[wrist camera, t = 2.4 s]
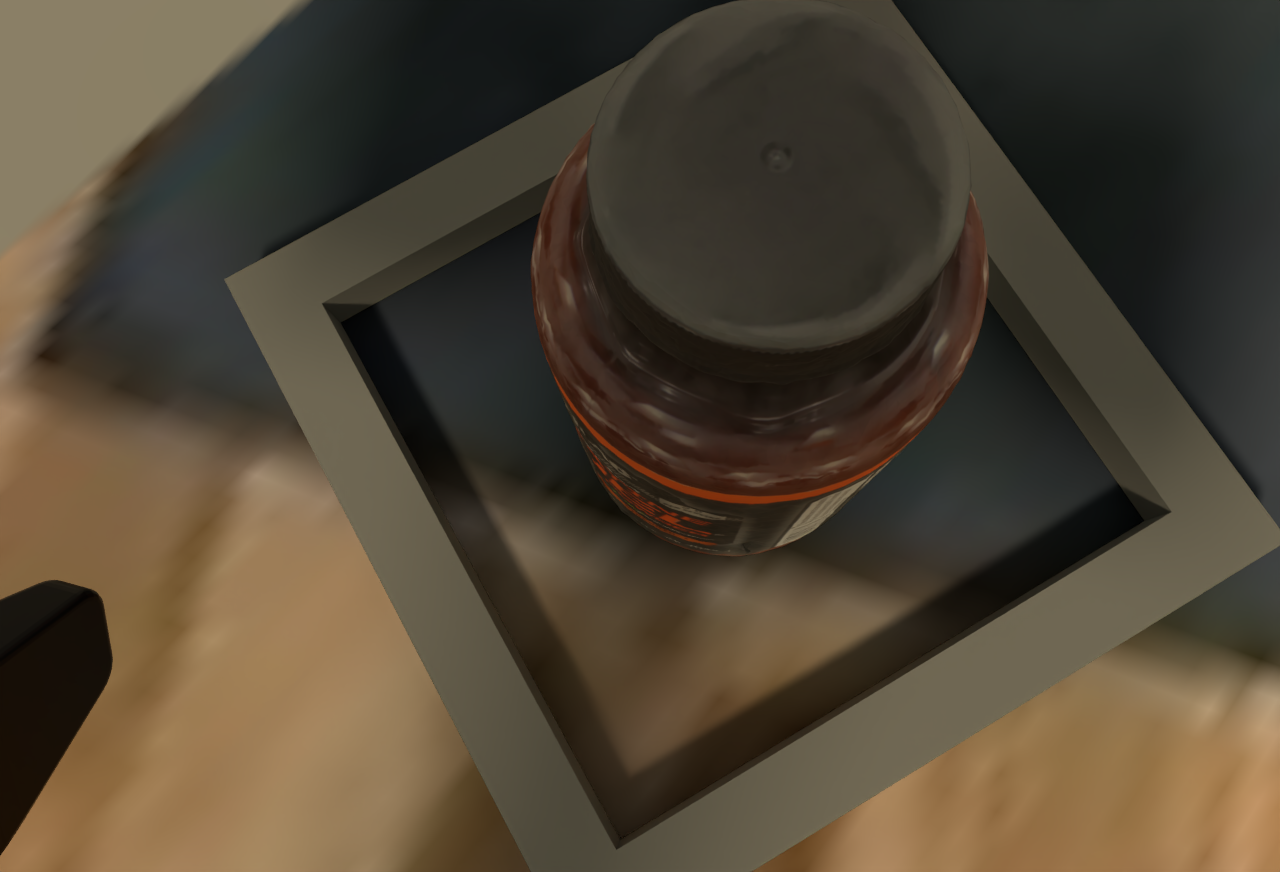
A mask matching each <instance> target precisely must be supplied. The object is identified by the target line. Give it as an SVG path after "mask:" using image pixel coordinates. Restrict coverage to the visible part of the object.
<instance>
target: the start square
mask: <svg viewBox="0 0 1280 872" xmlns="http://www.w3.org/2000/svg"><path fill="white" fill-rule="evenodd" d="M823 1H827V2H831V3H835V4H838V5H840V6H843V7H846V8H849V9H851V10H854V11H857V12H859V13H861V14H863V15H865V16H867V17H869V18H871V19H872V20H873V21H875V22H876V23H879V24H881V25H883V26H886V27H888V28H890V29H893V30H894V31H895V32H896V33H898V34H899V35H900V36H902V37H903V38H904V39H905V40H906V41H907V42H908V43H909V44H910V45H911V46H912V47H913V48H914V49H915V50H916V51H918V52H919V53H920V54H921V55H922V56H923V57H925V58H926V60H927V61H928V62H929V64H930V65H931V66H932V68H933V69H934V70H935V71H936V72H937V73H938V75H939V76H940V77H941V79H942V80H943V82H944V84H945V86H946V87H947V89H948V91H949V93H950V96H951V97H952V99H953V100H954V102H955V104H956V106H957V109H958V112H959V116H960V119H961V122H962V125H963V128H964V131H965V134H966V137H967V140H968V143H969V150H970V167H971V184H972V187H971V192H972V194H973V196H974V198H975V200H976V204H977V207H978V209H979V211H980V216H981V219H982V222H983V228H984V237H985V241H986V246H987V256H988V265H989V269H988V271H989V280H988V290H987V298H988V299H989V301H990V302H991V304H992V305H993V306H994V308H995V309H996V311H997V312H998V314H999V315H1000V316H1001V318H1002V319H1003V321H1004V322H1005V324H1006V325H1007V326H1008V328H1009V329H1010V331H1011V332H1012V333H1013V335H1014V336H1015V338H1016V339H1017V341H1018V342H1019V343H1020V345H1021V346H1022V348H1023V349H1024V351H1025V352H1026V353H1027V355H1028V356H1029V358H1030V359H1031V360H1032V362H1033V363H1034V365H1035V366H1036V368H1037V369H1038V370H1039V372H1040V373H1041V375H1042V376H1043V378H1044V379H1045V380H1046V382H1047V383H1048V385H1049V386H1050V387H1051V389H1052V390H1053V392H1054V393H1055V395H1056V396H1057V397H1058V399H1059V400H1060V402H1061V403H1062V405H1063V406H1064V407H1065V409H1066V410H1067V412H1068V413H1069V414H1070V416H1071V417H1072V419H1073V420H1074V422H1075V423H1076V424H1077V426H1078V427H1079V429H1080V430H1081V432H1082V433H1083V434H1084V436H1085V437H1086V439H1087V440H1088V441H1089V443H1090V444H1091V446H1092V447H1093V449H1094V450H1095V451H1096V453H1097V454H1098V456H1099V457H1100V458H1101V460H1102V461H1103V463H1104V464H1105V466H1106V467H1107V468H1108V470H1109V471H1110V473H1111V474H1112V476H1113V477H1114V478H1115V480H1116V481H1117V483H1118V484H1119V485H1120V487H1121V488H1122V490H1123V491H1124V493H1125V494H1126V495H1127V497H1128V498H1129V500H1130V501H1131V503H1132V504H1133V505H1134V507H1135V508H1136V510H1137V511H1138V512H1139V514H1140V515H1141V517H1142V518H1143V520H1144V522H1142V523H1140V524H1139V525H1137V526H1135V527H1134V528H1132V529H1131V530H1129V531H1127V532H1126V533H1124V534H1122V535H1121V536H1119V537H1117V538H1116V539H1114V540H1112V541H1111V542H1109V543H1107V544H1106V545H1104V546H1103V547H1101V548H1099V549H1098V550H1096V551H1094V552H1093V553H1091V554H1089V555H1088V556H1086V557H1084V558H1083V559H1081V560H1080V561H1078V562H1076V563H1075V564H1073V565H1071V566H1070V567H1068V568H1066V569H1065V570H1063V571H1061V572H1060V573H1058V574H1057V575H1055V576H1053V577H1052V578H1050V579H1048V580H1047V581H1045V582H1043V583H1042V584H1040V585H1038V586H1037V587H1035V588H1034V589H1032V590H1030V591H1029V592H1027V593H1025V594H1024V595H1022V596H1020V597H1019V598H1017V599H1015V600H1014V601H1012V602H1010V603H1009V604H1007V605H1006V606H1004V607H1002V608H1001V609H999V610H997V611H996V612H994V613H992V614H991V615H989V616H987V617H986V618H984V619H983V620H981V621H979V622H978V623H976V624H974V625H973V626H971V627H969V628H968V629H966V630H964V631H963V632H961V633H960V634H958V635H956V636H955V637H953V638H951V639H950V640H948V641H946V642H945V643H943V644H941V645H940V646H938V647H937V648H935V649H933V650H932V651H930V652H928V653H927V654H925V655H923V656H922V657H920V658H918V659H917V660H915V661H913V662H912V663H910V664H909V665H907V666H905V667H904V668H902V669H900V670H899V671H897V672H895V673H894V674H892V675H890V676H889V677H887V678H886V679H884V680H882V681H881V682H879V683H877V684H876V685H874V686H872V687H871V688H869V689H867V690H866V691H864V692H863V693H861V694H859V695H858V696H856V697H854V698H853V699H851V700H849V701H848V702H846V703H844V704H843V705H841V706H839V707H838V708H836V709H835V710H833V711H831V712H830V713H828V714H826V715H825V716H823V717H821V718H820V719H818V720H816V721H815V722H813V723H812V724H810V725H808V726H807V727H805V728H803V729H802V730H800V731H798V732H797V733H795V734H793V735H792V736H790V737H789V738H787V739H785V740H784V741H782V742H780V743H779V744H777V745H775V746H774V747H772V748H770V749H769V750H767V751H766V752H764V753H762V754H761V755H759V756H757V757H756V758H754V759H752V760H751V761H749V762H747V763H746V764H744V765H742V766H741V767H739V768H738V769H736V770H734V771H733V772H731V773H729V774H728V775H726V776H724V777H723V778H721V779H719V780H718V781H716V782H715V783H713V784H711V785H710V786H708V787H706V788H705V789H703V790H701V791H700V792H698V793H696V794H695V795H693V796H692V797H690V798H688V799H687V800H685V801H683V802H682V803H680V804H678V805H677V806H675V807H673V808H672V809H670V810H668V811H667V812H665V813H664V814H662V815H660V816H659V817H657V818H655V819H654V820H652V821H650V822H649V823H647V824H645V825H644V826H642V827H641V828H639V829H637V830H636V831H634V832H632V833H631V834H629V835H627V836H626V837H624V838H622V839H621V840H620V839H619V837H618V835H617V833H616V831H615V830H614V828H613V826H612V824H611V822H610V820H609V818H608V817H607V815H606V813H605V811H604V809H603V807H602V805H601V804H600V802H599V800H598V798H597V796H596V794H595V793H594V791H593V789H592V787H591V785H590V783H589V781H588V780H587V778H586V776H585V774H584V772H583V770H582V768H581V767H580V765H579V763H578V761H577V759H576V757H575V756H574V754H573V752H572V750H571V748H570V746H569V744H568V743H567V741H566V739H565V737H564V735H563V733H562V731H561V730H560V728H559V726H558V724H557V722H556V720H555V719H554V717H553V715H552V713H551V711H550V709H549V707H548V706H547V704H546V702H545V700H544V698H543V696H542V694H541V693H540V691H539V689H538V687H537V685H536V683H535V682H534V680H533V678H532V676H531V674H530V672H529V670H528V669H527V667H526V665H525V663H524V661H523V659H522V657H521V656H520V654H519V652H518V650H517V648H516V646H515V645H514V643H513V641H512V639H511V637H510V635H509V633H508V632H507V630H506V628H505V626H504V624H503V622H502V620H501V619H500V617H499V615H498V613H497V611H496V609H495V608H494V606H493V604H492V602H491V600H490V598H489V596H488V595H487V593H486V591H485V589H484V587H483V585H482V583H481V582H480V580H479V578H478V576H477V574H476V572H475V571H474V569H473V567H472V565H471V563H470V561H469V559H468V558H467V556H466V554H465V552H464V550H463V548H462V546H461V545H460V543H459V541H458V539H457V537H456V535H455V534H454V532H453V530H452V528H451V526H450V524H449V522H448V521H447V519H446V517H445V515H444V513H443V511H442V509H441V508H440V506H439V504H438V502H437V500H436V498H435V497H434V495H433V493H432V491H431V489H430V487H429V485H428V484H427V482H426V480H425V478H424V476H423V474H422V472H421V471H420V469H419V467H418V465H417V463H416V461H415V460H414V458H413V456H412V454H411V452H410V450H409V448H408V447H407V445H406V443H405V441H404V439H403V437H402V435H401V434H400V432H399V430H398V428H397V426H396V424H395V423H394V421H393V419H392V417H391V415H390V413H389V411H388V410H387V408H386V406H385V404H384V402H383V400H382V398H381V397H380V395H379V393H378V391H377V389H376V387H375V386H374V384H373V382H372V380H371V378H370V376H369V374H368V373H367V371H366V369H365V367H364V365H363V363H362V361H361V360H360V358H359V356H358V354H357V352H356V350H355V349H354V347H353V345H352V343H351V341H350V339H349V337H348V336H347V334H346V332H345V330H344V328H343V326H342V324H341V322H343V321H344V320H346V319H348V318H350V317H352V316H353V315H355V314H357V313H359V312H361V311H362V310H364V309H366V308H368V307H370V306H372V305H373V304H375V303H377V302H379V301H381V300H382V299H384V298H386V297H388V296H390V295H391V294H393V293H395V292H397V291H399V290H401V289H402V288H404V287H406V286H408V285H410V284H411V283H413V282H415V281H417V280H419V279H420V278H422V277H424V276H426V275H428V274H430V273H431V272H433V271H435V270H437V269H439V268H440V267H442V266H444V265H446V264H448V263H450V262H451V261H453V260H455V259H457V258H459V257H460V256H462V255H464V254H466V253H468V252H469V251H471V250H473V249H475V248H477V247H479V246H480V245H482V244H484V243H486V242H488V241H489V240H491V239H493V238H495V237H497V236H498V235H500V234H502V233H504V232H506V231H508V230H509V229H511V228H513V227H515V226H517V225H518V224H520V223H522V222H524V221H526V220H527V219H529V218H531V217H533V216H535V215H537V214H538V213H540V212H541V210H542V207H543V205H544V202H545V199H546V197H547V194H548V191H549V189H550V186H551V184H552V182H553V180H554V179H555V177H556V176H557V174H558V172H559V170H560V168H561V167H562V165H563V163H564V161H565V159H566V157H567V156H568V155H569V153H570V152H571V151H572V150H573V148H574V147H575V145H576V144H577V142H578V141H579V140H580V138H581V137H582V136H583V135H584V134H585V133H586V132H587V131H588V129H589V128H590V126H591V125H593V124H594V123H595V121H596V117H597V115H598V112H599V110H600V108H601V105H602V103H603V100H604V98H605V96H606V94H607V93H608V91H609V90H610V89H611V87H612V85H613V83H614V81H615V80H616V78H617V76H618V75H619V74H620V73H621V72H622V71H623V70H624V68H625V67H626V65H627V64H628V62H629V61H631V60H632V59H633V58H634V57H633V58H631V59H630V60H628V61H626V62H624V63H622V64H620V65H618V66H617V67H615V68H613V69H611V70H609V71H607V72H606V73H604V74H602V75H600V76H598V77H596V78H595V79H593V80H591V81H589V82H587V83H585V84H583V85H582V86H580V87H578V88H576V89H574V90H572V91H571V92H569V93H567V94H565V95H563V96H561V97H560V98H558V99H556V100H554V101H552V102H550V103H548V104H547V105H545V106H543V107H541V108H539V109H537V110H536V111H534V112H532V113H530V114H528V115H526V116H524V117H523V118H521V119H519V120H517V121H515V122H513V123H512V124H510V125H508V126H506V127H504V128H502V129H501V130H499V131H497V132H495V133H493V134H491V135H489V136H488V137H486V138H484V139H482V140H480V141H478V142H477V143H475V144H473V145H471V146H469V147H467V148H466V149H464V150H462V151H460V152H458V153H456V154H454V155H453V156H451V157H449V158H447V159H445V160H443V161H442V162H440V163H438V164H436V165H434V166H432V167H431V168H429V169H427V170H425V171H423V172H421V173H419V174H418V175H416V176H414V177H412V178H410V179H408V180H407V181H405V182H403V183H401V184H399V185H397V186H396V187H394V188H392V189H390V190H388V191H386V192H384V193H383V194H381V195H379V196H377V197H375V198H373V199H372V200H370V201H368V202H366V203H364V204H362V205H361V206H359V207H357V208H355V209H353V210H351V211H349V212H348V213H346V214H344V215H342V216H340V217H338V218H337V219H335V220H333V221H331V222H329V223H327V224H326V225H324V226H322V227H320V228H318V229H316V230H314V231H313V232H311V233H309V234H307V235H305V236H303V237H302V238H300V239H298V240H296V241H294V242H292V243H291V244H289V245H287V246H285V247H283V248H281V249H279V250H278V251H276V252H274V253H272V254H270V255H268V256H267V257H265V258H263V259H261V260H259V261H257V262H256V263H254V264H252V265H250V266H248V267H246V268H244V269H243V270H241V271H239V272H237V273H235V274H233V275H232V276H230V277H228V278H226V279H224V280H225V282H226V284H227V285H228V287H229V289H230V291H231V293H232V295H233V297H234V299H235V301H236V303H237V305H238V307H239V309H240V311H241V313H242V314H243V316H244V318H245V320H246V322H247V324H248V326H249V328H250V330H251V332H252V334H253V336H254V338H255V340H256V342H257V343H258V345H259V347H260V349H261V351H262V353H263V355H264V357H265V359H266V361H267V363H268V365H269V367H270V369H271V371H272V372H273V374H274V376H275V378H276V380H277V382H278V384H279V386H280V388H281V390H282V392H283V394H284V396H285V398H286V399H287V401H288V403H289V405H290V407H291V409H292V411H293V413H294V415H295V417H296V419H297V421H298V423H299V425H300V427H301V428H302V430H303V432H304V434H305V436H306V438H307V440H308V442H309V444H310V446H311V448H312V450H313V452H314V454H315V456H316V457H317V459H318V461H319V463H320V465H321V467H322V469H323V471H324V473H325V475H326V477H327V479H328V481H329V483H330V485H331V486H332V488H333V490H334V492H335V494H336V496H337V498H338V500H339V502H340V504H341V506H342V508H343V510H344V512H345V514H346V515H347V517H348V519H349V521H350V523H351V525H352V527H353V529H354V531H355V533H356V535H357V537H358V539H359V541H360V542H361V544H362V546H363V548H364V550H365V552H366V554H367V556H368V558H369V560H370V562H371V564H372V566H373V568H374V570H375V571H376V573H377V575H378V577H379V579H380V581H381V583H382V585H383V587H384V589H385V591H386V593H387V595H388V597H389V599H390V600H391V602H392V604H393V606H394V608H395V610H396V612H397V614H398V616H399V618H400V620H401V622H402V624H403V626H404V628H405V629H406V631H407V633H408V635H409V637H410V639H411V641H412V643H413V645H414V647H415V649H416V651H417V653H418V655H419V657H420V658H421V660H422V662H423V664H424V666H425V668H426V670H427V672H428V674H429V676H430V678H431V680H432V682H433V684H434V685H435V687H436V689H437V691H438V693H439V695H440V697H441V699H442V701H443V703H444V705H445V707H446V709H447V711H448V713H449V714H450V716H451V718H452V720H453V722H454V724H455V726H456V728H457V730H458V732H459V734H460V736H461V738H462V740H463V742H464V743H465V745H466V747H467V749H468V751H469V753H470V755H471V757H472V759H473V761H474V763H475V765H476V767H477V769H478V771H479V772H480V774H481V776H482V778H483V780H484V782H485V784H486V786H487V788H488V790H489V792H490V794H491V796H492V798H493V799H494V801H495V803H496V805H497V807H498V809H499V811H500V813H501V815H502V817H503V819H504V821H505V823H506V825H507V827H508V828H509V830H510V832H511V834H512V836H513V838H514V840H515V842H516V844H517V846H518V848H519V850H520V852H521V854H522V856H523V857H524V859H525V861H526V863H527V865H528V867H529V869H530V871H531V872H752V871H754V870H755V869H757V868H758V867H760V866H762V865H763V864H765V863H766V862H768V861H770V860H771V859H773V858H775V857H776V856H778V855H779V854H781V853H783V852H784V851H786V850H788V849H789V848H791V847H792V846H794V845H796V844H797V843H799V842H800V841H802V840H804V839H805V838H807V837H809V836H810V835H812V834H813V833H815V832H817V831H818V830H820V829H822V828H823V827H825V826H826V825H828V824H830V823H831V822H833V821H834V820H836V819H838V818H839V817H841V816H843V815H844V814H846V813H847V812H849V811H851V810H852V809H854V808H856V807H857V806H859V805H860V804H862V803H864V802H865V801H867V800H868V799H870V798H872V797H873V796H875V795H877V794H878V793H880V792H881V791H883V790H885V789H886V788H888V787H890V786H891V785H893V784H894V783H896V782H898V781H899V780H901V779H902V778H904V777H906V776H907V775H909V774H911V773H912V772H914V771H915V770H917V769H919V768H920V767H922V766H924V765H925V764H927V763H928V762H930V761H932V760H933V759H935V758H936V757H938V756H940V755H941V754H943V753H945V752H946V751H948V750H949V749H951V748H953V747H954V746H956V745H958V744H959V743H961V742H962V741H964V740H966V739H967V738H969V737H970V736H972V735H974V734H975V733H977V732H979V731H980V730H982V729H983V728H985V727H987V726H988V725H990V724H991V723H993V722H995V721H996V720H998V719H1000V718H1001V717H1003V716H1004V715H1006V714H1008V713H1009V712H1011V711H1013V710H1014V709H1016V708H1017V707H1019V706H1021V705H1022V704H1024V703H1025V702H1027V701H1029V700H1030V699H1032V698H1034V697H1035V696H1037V695H1038V694H1040V693H1042V692H1043V691H1045V690H1047V689H1048V688H1050V687H1051V686H1053V685H1055V684H1056V683H1058V682H1059V681H1061V680H1063V679H1064V678H1066V677H1068V676H1069V675H1071V674H1072V673H1074V672H1076V671H1077V670H1079V669H1081V668H1082V667H1084V666H1085V665H1087V664H1089V663H1090V662H1092V661H1093V660H1095V659H1097V658H1098V657H1100V656H1102V655H1103V654H1105V653H1106V652H1108V651H1110V650H1111V649H1113V648H1115V647H1116V646H1118V645H1119V644H1121V643H1123V642H1124V641H1126V640H1127V639H1129V638H1131V637H1132V636H1134V635H1136V634H1137V633H1139V632H1140V631H1142V630H1144V629H1145V628H1147V627H1149V626H1150V625H1152V624H1153V623H1155V622H1157V621H1158V620H1160V619H1161V618H1163V617H1165V616H1166V615H1168V614H1170V613H1171V612H1173V611H1174V610H1176V609H1178V608H1179V607H1181V606H1183V605H1184V604H1186V603H1187V602H1189V601H1191V600H1192V599H1194V598H1195V597H1197V596H1199V595H1200V594H1202V593H1204V592H1205V591H1207V590H1208V589H1210V588H1212V587H1213V586H1215V585H1217V584H1218V583H1220V582H1221V581H1223V580H1225V579H1226V578H1228V577H1229V576H1231V575H1233V574H1234V573H1236V572H1238V571H1239V570H1241V569H1242V568H1244V567H1246V566H1247V565H1249V564H1251V563H1252V562H1254V561H1255V560H1257V559H1259V558H1260V557H1262V556H1263V555H1265V554H1267V553H1268V552H1270V551H1272V550H1273V549H1275V548H1276V547H1278V546H1280V529H1279V527H1278V526H1277V525H1276V523H1275V522H1274V521H1273V519H1272V518H1271V517H1270V515H1269V514H1268V512H1267V511H1266V510H1265V508H1264V507H1263V506H1262V504H1261V503H1260V502H1259V500H1258V499H1257V497H1256V496H1255V495H1254V493H1253V492H1252V491H1251V489H1250V488H1249V487H1248V485H1247V484H1246V482H1245V481H1244V480H1243V478H1242V477H1241V476H1240V474H1239V473H1238V472H1237V470H1236V469H1235V467H1234V466H1233V465H1232V463H1231V462H1230V461H1229V459H1228V458H1227V457H1226V455H1225V454H1224V452H1223V451H1222V450H1221V448H1220V447H1219V446H1218V444H1217V443H1216V442H1215V440H1214V439H1213V438H1212V436H1211V435H1210V433H1209V432H1208V431H1207V429H1206V428H1205V427H1204V425H1203V424H1202V423H1201V421H1200V420H1199V418H1198V417H1197V416H1196V414H1195V413H1194V412H1193V410H1192V409H1191V408H1190V406H1189V405H1188V403H1187V402H1186V401H1185V399H1184V398H1183V397H1182V395H1181V394H1180V393H1179V391H1178V390H1177V388H1176V387H1175V386H1174V384H1173V383H1172V382H1171V380H1170V379H1169V378H1168V376H1167V375H1166V373H1165V372H1164V371H1163V369H1162V368H1161V367H1160V365H1159V364H1158V363H1157V361H1156V360H1155V359H1154V357H1153V356H1152V354H1151V353H1150V352H1149V350H1148V349H1147V348H1146V346H1145V345H1144V344H1143V342H1142V341H1141V339H1140V338H1139V337H1138V335H1137V334H1136V333H1135V331H1134V330H1133V329H1132V327H1131V326H1130V324H1129V323H1128V322H1127V320H1126V319H1125V318H1124V316H1123V315H1122V314H1121V312H1120V311H1119V309H1118V308H1117V307H1116V305H1115V304H1114V303H1113V301H1112V300H1111V299H1110V297H1109V296H1108V294H1107V293H1106V292H1105V290H1104V289H1103V288H1102V286H1101V285H1100V284H1099V282H1098V281H1097V280H1096V278H1095V277H1094V275H1093V274H1092V273H1091V271H1090V270H1089V269H1088V267H1087V266H1086V265H1085V263H1084V262H1083V260H1082V259H1081V258H1080V256H1079V255H1078V254H1077V252H1076V251H1075V250H1074V248H1073V247H1072V245H1071V244H1070V243H1069V241H1068V240H1067V239H1066V237H1065V236H1064V235H1063V233H1062V232H1061V230H1060V229H1059V228H1058V226H1057V225H1056V224H1055V222H1054V221H1053V220H1052V218H1051V217H1050V215H1049V214H1048V213H1047V211H1046V210H1045V209H1044V207H1043V206H1042V205H1041V203H1040V202H1039V201H1038V199H1037V198H1036V196H1035V195H1034V194H1033V192H1032V191H1031V190H1030V188H1029V187H1028V186H1027V184H1026V183H1025V181H1024V180H1023V179H1022V177H1021V176H1020V175H1019V173H1018V172H1017V171H1016V169H1015V168H1014V166H1013V165H1012V164H1011V162H1010V161H1009V160H1008V158H1007V157H1006V156H1005V154H1004V153H1003V151H1002V150H1001V149H1000V147H999V146H998V145H997V143H996V142H995V141H994V139H993V138H992V136H991V135H990V134H989V132H988V131H987V130H986V128H985V127H984V126H983V124H982V123H981V122H980V120H979V119H978V117H977V116H976V115H975V113H974V112H973V111H972V109H971V108H970V107H969V105H968V104H967V102H966V101H965V100H964V98H963V97H962V96H961V94H960V93H959V92H958V90H957V89H956V87H955V86H954V85H953V83H952V82H951V81H950V79H949V78H948V77H947V75H946V74H945V72H944V71H943V70H942V68H941V67H940V66H939V64H938V63H937V62H936V60H935V59H934V57H933V56H932V55H931V53H930V52H929V51H928V49H927V48H926V47H925V45H924V44H923V43H922V41H921V40H920V38H919V37H918V36H917V34H916V33H915V32H914V30H913V29H912V28H911V26H910V25H909V23H908V22H907V21H906V19H905V18H904V17H903V15H902V14H901V13H900V11H899V10H898V8H897V7H896V6H895V4H894V3H893V2H892V0H823Z"/></svg>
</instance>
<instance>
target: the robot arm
mask: <svg viewBox="0 0 1280 872" xmlns="http://www.w3.org/2000/svg"><path fill="white" fill-rule="evenodd" d="M112 662H113V657H112V650H111V644H110V638H109V632H108V627H107V621H106V615H105V609H104V604H103V601H102V598H101V597H100V596H99V594H98V593H97V592H96V591H94V590H92V589H88V588H85V587H81V586H78V585H74V584H71V583H67V582H63V581H58V580H49V581H44V582H41V583H38V584H36V585H33V586H31V587H29V588H26V589H24V590H22V591H19V592H17V593H15V594H12V595H10V596H7V597H5V598H3V599H0V855H1V854H2V852H3V851H4V850H5V848H6V847H7V846H8V844H9V842H10V841H11V839H12V838H13V836H14V835H15V833H16V832H17V830H18V829H19V827H20V825H21V824H22V822H23V821H24V819H25V818H26V816H27V814H28V813H29V811H30V809H31V808H32V806H33V805H34V803H35V801H36V800H37V798H38V796H39V795H40V793H41V791H42V790H43V788H44V787H45V785H46V783H47V782H48V780H49V778H50V777H51V775H52V773H53V772H54V770H55V768H56V767H57V765H58V764H59V762H60V760H61V759H62V757H63V755H64V754H65V752H66V750H67V749H68V747H69V745H70V744H71V742H72V741H73V739H74V737H75V736H76V734H77V732H78V731H79V729H80V727H81V726H82V724H83V723H84V721H85V719H86V718H87V716H88V714H89V713H90V711H91V709H92V708H93V706H94V704H95V703H96V701H97V700H98V698H99V696H100V695H101V693H102V691H103V690H104V688H105V686H106V684H107V682H108V679H109V677H110V673H111V670H112Z"/></svg>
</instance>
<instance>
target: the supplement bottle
mask: <svg viewBox="0 0 1280 872" xmlns="http://www.w3.org/2000/svg"><path fill="white" fill-rule="evenodd" d="M971 187H972V184H971V167H970V150H969V143H968V140H967V137H966V134H965V131H964V128H963V125H962V122H961V119H960V116H959V112H958V109H957V106H956V104H955V102H954V100H953V99H952V97H951V96H950V93H949V91H948V89H947V87H946V86H945V84H944V82H943V80H942V79H941V77H940V76H939V75H938V73H937V72H936V71H935V70H934V69H933V68H932V66H931V65H930V64H929V62H928V61H927V60H926V58H925V57H923V56H922V55H921V54H920V53H919V52H918V51H916V50H915V49H914V48H913V47H912V46H911V45H910V44H909V43H908V42H907V41H906V40H905V39H904V38H903V37H902V36H900V35H899V34H898V33H896V32H895V31H894V30H893V29H890V28H888V27H886V26H883V25H881V24H879V23H876V22H875V21H873V20H872V19H871V18H869V17H867V16H865V15H863V14H861V13H859V12H857V11H854V10H851V9H849V8H846V7H843V6H840V5H838V4H835V3H831V2H827V1H823V0H738V1H733V2H729V3H725V4H722V5H718V6H714V7H711V8H708V9H706V10H703V11H700V12H698V13H695V14H693V15H691V16H689V17H687V18H685V19H683V20H681V21H680V22H678V23H676V24H675V25H673V26H672V27H670V28H669V29H667V30H666V31H664V32H662V33H660V34H659V35H657V36H656V37H655V38H654V39H653V40H652V41H651V42H650V43H649V44H647V45H646V46H645V47H644V48H643V49H641V50H640V51H639V52H638V53H637V54H636V55H635V57H634V58H633V59H632V60H631V61H629V62H628V64H627V65H626V67H625V68H624V70H623V71H622V72H621V73H620V74H619V75H618V76H617V78H616V80H615V81H614V83H613V85H612V87H611V89H610V90H609V91H608V93H607V94H606V96H605V98H604V100H603V103H602V105H601V108H600V110H599V112H598V115H597V117H596V121H595V123H594V124H593V125H591V126H590V128H589V129H588V131H587V132H586V133H585V134H584V135H583V136H582V137H581V138H580V140H579V141H578V142H577V144H576V145H575V147H574V148H573V150H572V151H571V152H570V153H569V155H568V156H567V157H566V159H565V161H564V163H563V165H562V167H561V168H560V170H559V172H558V174H557V176H556V177H555V179H554V180H553V182H552V184H551V186H550V189H549V191H548V194H547V197H546V199H545V202H544V205H543V207H542V210H541V214H540V218H539V222H538V226H537V230H536V234H535V239H534V243H533V252H532V257H531V282H532V295H533V305H534V312H535V318H536V323H537V328H538V332H539V336H540V340H541V344H542V347H543V349H544V352H545V355H546V358H547V361H548V363H549V365H550V369H551V373H552V375H553V377H554V379H555V381H556V384H557V386H558V388H559V391H560V393H561V396H562V398H563V400H564V402H565V405H566V408H567V411H568V413H569V414H570V416H571V419H572V422H573V423H574V425H575V427H576V430H577V433H578V436H579V439H580V441H581V444H582V446H583V448H584V449H585V452H586V454H587V456H588V459H589V461H590V464H591V465H592V467H593V469H594V471H595V473H596V475H597V477H598V480H599V481H600V483H601V484H602V486H603V487H604V488H605V490H606V491H607V492H608V494H609V496H610V498H611V499H612V500H613V501H614V502H615V503H616V504H617V505H618V507H619V509H620V510H621V511H622V512H623V513H624V514H626V515H627V516H629V517H630V518H631V519H632V520H633V521H635V522H636V523H637V524H638V525H640V526H642V527H643V528H644V529H645V530H647V531H649V532H651V533H652V534H654V535H656V536H657V537H659V538H660V539H663V540H665V541H667V542H669V543H671V544H674V545H676V546H679V547H682V548H685V549H688V550H692V551H696V552H699V553H704V554H713V555H724V556H743V555H750V554H758V553H762V552H765V551H768V550H772V549H775V548H779V547H783V546H785V545H787V544H789V543H791V542H793V541H796V540H799V539H800V538H802V537H803V536H805V535H806V534H808V533H810V532H812V531H814V530H815V529H817V528H818V527H820V526H821V525H823V524H824V523H826V522H827V521H828V520H829V519H830V518H832V517H833V516H834V515H836V514H837V513H838V512H839V511H840V510H841V509H842V508H843V507H844V505H845V504H846V503H847V502H848V501H849V500H851V499H852V498H853V497H854V496H855V495H856V494H857V493H858V492H859V491H860V490H861V489H862V488H863V487H864V486H865V485H866V484H867V483H868V482H869V481H871V480H872V479H873V478H874V477H875V475H877V474H878V473H879V472H880V471H881V470H882V469H883V468H884V467H885V466H886V465H887V464H888V463H889V462H890V461H891V460H892V459H893V458H895V457H896V456H897V455H898V454H899V453H900V452H901V451H902V450H903V449H904V448H905V447H906V446H907V445H908V444H909V443H910V442H911V441H912V439H913V438H914V437H915V436H916V435H918V434H919V433H920V432H921V431H922V430H923V429H924V428H925V426H926V425H927V424H928V423H929V422H930V421H931V420H932V419H933V418H934V416H935V415H936V414H937V412H938V411H939V410H940V409H941V407H942V406H943V405H944V403H945V402H946V400H947V399H948V398H949V396H950V394H951V393H952V391H953V389H954V387H955V386H956V384H957V383H958V382H959V380H960V379H961V376H962V374H963V372H964V369H965V366H966V364H967V362H968V360H969V359H970V357H971V355H972V352H973V348H974V346H975V343H976V341H977V338H978V335H979V331H980V328H981V324H982V321H983V316H984V311H985V305H986V299H987V290H988V280H989V271H988V269H989V265H988V256H987V246H986V241H985V237H984V228H983V222H982V219H981V216H980V211H979V209H978V207H977V204H976V200H975V198H974V196H973V194H972V192H971Z"/></svg>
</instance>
